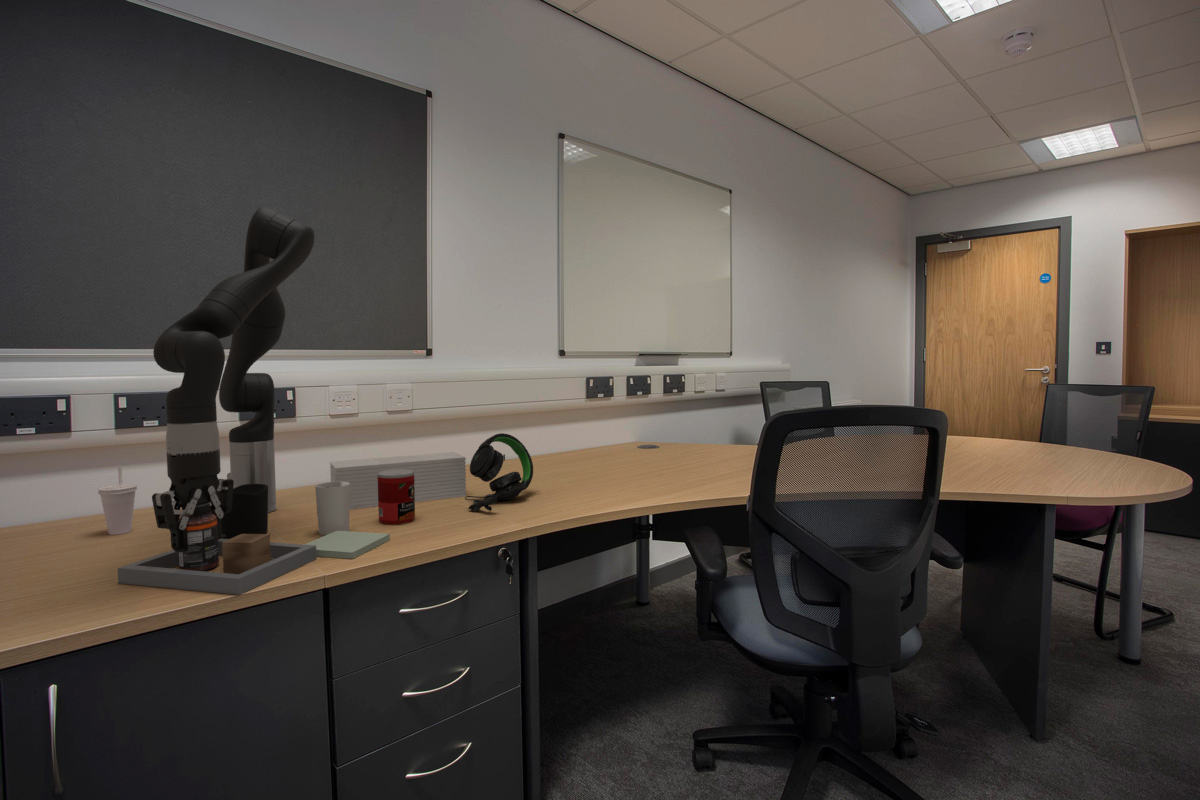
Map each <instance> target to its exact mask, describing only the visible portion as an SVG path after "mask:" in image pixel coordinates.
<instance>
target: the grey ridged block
mask: <svg viewBox="0 0 1200 800" xmlns="http://www.w3.org/2000/svg"><path fill="white" fill-rule="evenodd" d="M466 459H467V458H466V456H463V455H461V454H458V453H457V452H454V451H451V452H441V453H440V452H439V453H427V454H426V453H425V454H415V455H413V454H412V455H400V456H389V457H376V458H364V459H363V458H362V459H349V460H338V461H337V460H336V461H335V460H334V461H330V462H329V464H330V466H329V467H330V470H329V471H330V473H329V474H330V482H349V483H350V504H349V511H350V510H358V509H359V508H360V509H365V508H366V509H367V508H368V509H369V508H376V507H378V473H379V472H382V471H386V470H397V469H405V470H412V471H414V486H415V503H418V502H425V501H426V502H428V500H429V501H436V500H445V499H453V498H454V499H455V498H462V497H466V496H467V479H466V478H467V476H466V474H467V472H466V471H467V470H466V469H467V468H466V463H467V461H466Z"/></svg>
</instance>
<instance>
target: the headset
mask: <svg viewBox="0 0 1200 800" xmlns="http://www.w3.org/2000/svg"><path fill="white" fill-rule="evenodd" d="M495 442H499V443H503V444H505V445H506V446H508V447H510V448H511V450H512V451H513V452H514V453H515V454H516V455H517V456H518V458H519V461H520V463H521V466H522V467H521V468H522V478H521V474H520V472H519V471H511V472H509V473H506V474H504V475H501V476H499V477H497V476H498V474H499V473H500V471H501V470H502V467H503V464H504V462H505V461H506V454H505V453H501V452H500V451H498V450H497V449H495V448H494V447H493V446H492V445H491V444H492V443H495ZM469 472H470V473H469V474H470V475H472V476H474V477H475V478H479V479H480V480H481V481H482V482H484V483H488V482H489V488H490V490H491V492H492V493H491V494H487V495H483V496H475V495H474V496H473V495H466V496H464V500H466V501H473V502H472V504H471V505H469V506H468V509H469V510H471V511H473V512H478V511H480V510H481V508H482V507H484V509H486V510H487V511H489V512H492V506H491V505H493V504H496V502H497V500H501V501H509V500H513V499H515V498H516V497H518V496H519V495H520V494H521V492H522V491H524V490H526V489H528V488H529V486H530V484H531V482H532V480H533V476H534V464H533V460H532V456H531V454H530V453H529V451H528V449H527V448H526V446H525V445H524V444H523V443H522V442H521V440H519V439H518V438H516V437H515V436H513V435H511V434H508V433H501V432H500V433H496V434H494V435H492V436H490V437H488V438H487V439H485V440H484V441H483V442H482V443H481V444H480V445H479V446H478V449H477V450H476V451H475V452H474V454H473V456H472V458H471V460H470V464H469ZM496 477H497V478H496ZM493 492H494V493H493ZM468 498H469V499H468ZM470 498H472V499H470ZM473 498H475V499H473ZM476 498H477V499H476ZM480 499H482V500H480Z"/></svg>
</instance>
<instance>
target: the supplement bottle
mask: <svg viewBox="0 0 1200 800" xmlns="http://www.w3.org/2000/svg"><path fill="white" fill-rule="evenodd" d="M185 509H186V508H181V510H185ZM179 520H180V517H179ZM179 520H178V522H179ZM185 529H187V542H188V549H187V551H184V552H177V558H178V565H177V569H182V570H194V571H205V572H207V571H209V570H212V569H213V568H216V567H217V566H218V565H219V562H220V555H219V548H218V530H217V529H218V528H217V517H216V515H215V514H212V513H211V511H210V503H209V502H207V503H204V504H200V505H197V506H195V509H194V512H193V515H192V516H190V517H189V519H188V522H187V525H186V528H185Z"/></svg>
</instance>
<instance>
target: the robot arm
mask: <svg viewBox="0 0 1200 800" xmlns="http://www.w3.org/2000/svg"><path fill="white" fill-rule="evenodd" d="M314 244H315V231H314V229H313V228H312V227H311V226H310V225H307V224H306V223H304V222H302V221H300V220H298V219H296V218H294V217H292V216H289V215H287V214H285V213H283V212H281V211H278V210H276V209H273V208H272V207H271V208H270V207H268V206H262V207H260V208H257V209H256V211H255V212H254V213H253V214H252V217H251V218H250V221H249V224H248V227H247V232H246V238H245V248H244V249H245V250H244V261H243V264H244V265H243V272H240V273H237V274H234V275H232V276H229V277H227V278H224V279H222V280H221V281H220V282H218V283H217V284H216V285H215V286H214V287H213V288H211V290H210V291H209V292H208V294H207V295H206V296H205V297H204V298H203V299H202V300H201V302H200V303H199V304H198V305H197V307H196V308H194V309H193V310H192V311H189V312H188V313H187V314H186V315H184V316H183V317H181V318H180V319H179V320H177V321H176V322H175V323H173V324H171V325H170V326H169V327H168V328H167V329H165V330H164V331H163V332H162V333H161V334H160V335H159V337H158V338H157V340H156V342H155V344H154V347H153V358H154V361H155V363H156V365H157V366H158V367H160V368H161V369H163V370H164V371H165V372H170V373H175V374H176V373H177V374H183V375H182V376H183V377H182V381H181V385H180V386H178V387H175V388H173V389H171V390H169V391H168V392H167V394H166V397H165V398H166V400H165V401H166V403H165V405H166V408H165V409H166V423H167V424H166V432H165V447H166V448H165V449H166V450H165V451H166V468H167V469H166V473H167V477H168V478H169V480H170V481H171V483H170V487H169V489H168V490H167V491H164V492H162V493H160V492H159V493H158V492H157V493H156V492H155V493H153V494H152V495H151V501H152V506H153V511H154V516H155V517H154V518H155V521H156V527H157V528H158V529H165V530H169V531H170V547H171V550H174V551H175V552H184V551H187V549H188V542H187V529H185V528H186V525H187V522H188V519H189V517H190V516H192V515H193V512H194V509H195V506H197V505H200V504H204V503H207V502H209V503H210V511H211V513H212V514H215V515H216V517H217V528H218V529H217V530H218V540H219V539H220V538H221V534H222V517H223V516H224V514H225V513H229V512H231V510H232V499H233V489H234V488H236V487H238V486H241V485H245V484H265V485H268V514H269V513H272V512H275V511H276V510H277V488H276V484H277V483H276V468H275V467H276V460H275V459H276V458H275V457H276V456H275V435H274V434H275V433H274V432H275V383H274V380H273V378H272V376H271V375H270V374H269V373H265V372H248V371H249V369H250V368H251V367H252V366H253V365H254V364H255V362H257V361H258V360H259V359H261V358H262V357H263V356H265V354H267V353H268V352H269V351H270V350H272V348H273V347H274V346H275V345H276V344H277V343H278V341H279V340H280V339H281V336H282V332H283V329H284V325H285V319H286V309H285V304H284V301H283V299H282V296H281V294H280V292H279V289H278V287H279V286H280V285H281V284H282V283H283V282H284V281H286V279H287V278H289V276H291V275H292V274H294V272H295V271H297V269H298V268H300V267H301V266H302V265H303V263H305V261H306V260H307V259H308V257H309V256H310V254H311V253H312V252H311V251H313V247H314ZM270 259H272V260H271V261H270ZM228 337H231V342H230V348H229V353H228V357H227V359H226V354H225V353H226V352H225V349H224V346H223V344H222V342H221V339H224V338H228ZM217 395H218V400H219V401H218V402H219V404H220V406H221V408H222V410H224V411H226V412H227V413H253V412H255V414H254V416H253V418H251V419H250V420H249V421H247V422H245V423H243V424H241V425H238V426H235V427H233V428H231V429H230V430H229V432H228V442H229V443H228V444H229V445H228V446H229V448H228V449H229V465H230V471H229V472H228V473H227V475H226V478H219V477H218V475H219V474H220V473H221V451H220V450H221V448H220V447H221V446H220V432H219V427H218V420H217V419H218V418H217V417H218V415H217V400H216V399H217ZM223 499H225V505H223ZM182 508H186V509H185V510H182ZM179 518H180V520H179ZM178 520H179V522H178Z"/></svg>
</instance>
